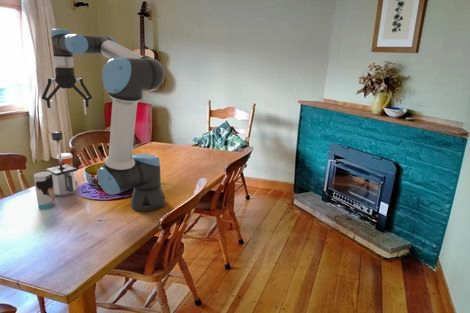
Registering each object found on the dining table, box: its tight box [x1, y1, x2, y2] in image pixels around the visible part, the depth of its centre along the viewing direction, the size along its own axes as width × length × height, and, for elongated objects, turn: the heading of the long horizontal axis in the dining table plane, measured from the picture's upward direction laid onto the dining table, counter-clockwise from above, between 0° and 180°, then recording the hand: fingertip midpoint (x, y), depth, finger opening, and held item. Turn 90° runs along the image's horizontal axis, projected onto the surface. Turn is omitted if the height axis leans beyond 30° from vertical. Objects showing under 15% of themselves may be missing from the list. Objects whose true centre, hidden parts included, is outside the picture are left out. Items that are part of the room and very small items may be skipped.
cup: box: [33, 171, 57, 211], centre depth 141 cm, size 7×7×15 cm
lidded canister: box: [45, 164, 78, 198], centre depth 156 cm, size 13×10×12 cm
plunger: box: [51, 131, 64, 170], centre depth 153 cm, size 7×7×21 cm
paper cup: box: [56, 152, 74, 167], centre depth 173 cm, size 8×8×14 cm
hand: (69, 114), depth 150 cm, fingers open, 13 cm apart
